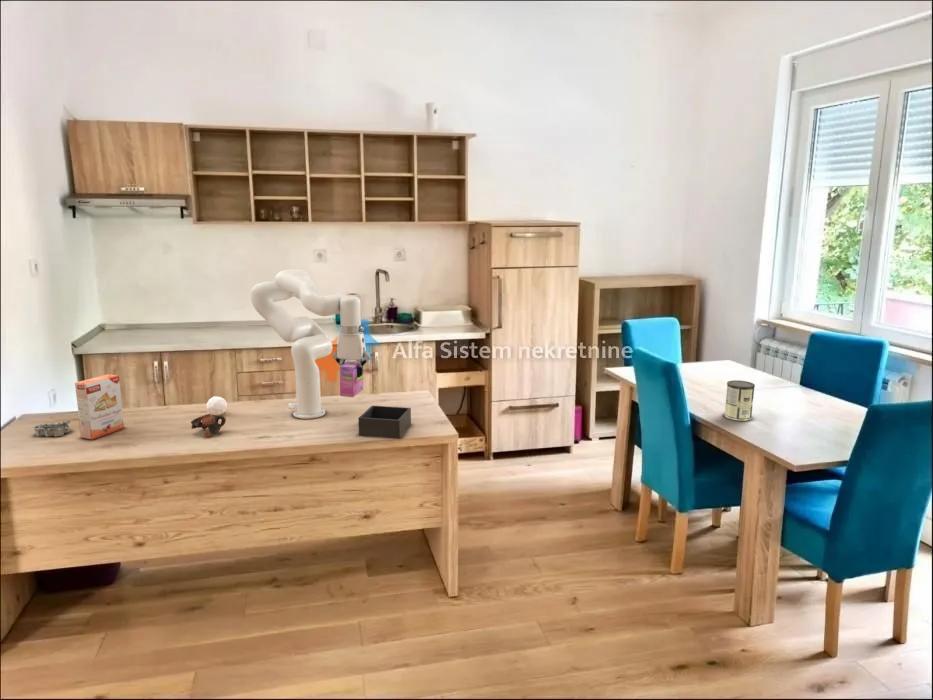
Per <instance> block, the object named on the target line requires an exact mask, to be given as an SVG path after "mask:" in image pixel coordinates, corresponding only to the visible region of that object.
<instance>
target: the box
mask: <svg viewBox="0 0 933 700" xmlns="http://www.w3.org/2000/svg"><path fill="white" fill-rule="evenodd" d="M357 367H358V363H357V360H350V359H348V360H347V361H345V363H344V364H343V365H341V366H339V397H346V398H354V397H356V396H357V395H359V393H361V392H362V391H364V373H363V374H362V376H361V377H357Z"/></svg>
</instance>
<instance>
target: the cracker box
mask: <svg viewBox="0 0 933 700" xmlns="http://www.w3.org/2000/svg"><path fill="white" fill-rule="evenodd" d="M74 386H75V387H74V388H75V397H76V405H77V414H78V415H77V416H78V422H79V432H80V438H82V439H86V440H91V441H92V440H95V439H98V438H101V437H103V436H106V435H109V434H111V433H115V432H117V431H120V430H123V429H125V424H124V414H123V405H122V404H123V403H122V394H121V393H122V392H121V382H120V375H117V374H110V373H107V374H102V375H100V376H96V377H92V378H88V379H83V380H80V381H77V382H74Z"/></svg>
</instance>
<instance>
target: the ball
mask: <svg viewBox="0 0 933 700" xmlns="http://www.w3.org/2000/svg"><path fill="white" fill-rule="evenodd" d="M205 404H206V405H205V406H206V408H205V409H206V411H207V412H208V414H211V416H219V415H223V414H224V413H225V412H226V410H227V409H228V402H227V401H226V399H225V398H223V397H221V396H212V397H211V398H209V399H208V401H207V402H206V403H205Z"/></svg>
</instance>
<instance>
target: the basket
mask: <svg viewBox="0 0 933 700" xmlns="http://www.w3.org/2000/svg"><path fill="white" fill-rule="evenodd" d="M357 419H358V421H357V422H358V436H359V437H361V436H362V437H375V438H390V439H401V437H403V435H404V434H405V432H406V431H408V429H409V428H410V426H411V425H412V408H411V407H403V406H388V405H387V406H385V405H370V407H369V408H368V409H366V410H365V411H364V412H363V413H362V414H361V415H360V416H359V417H358V418H357Z"/></svg>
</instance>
